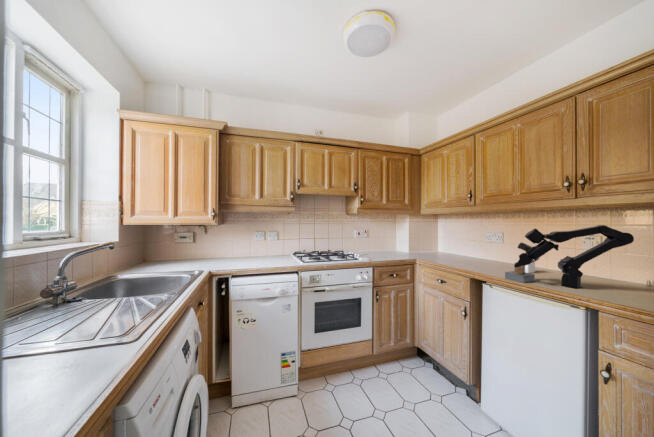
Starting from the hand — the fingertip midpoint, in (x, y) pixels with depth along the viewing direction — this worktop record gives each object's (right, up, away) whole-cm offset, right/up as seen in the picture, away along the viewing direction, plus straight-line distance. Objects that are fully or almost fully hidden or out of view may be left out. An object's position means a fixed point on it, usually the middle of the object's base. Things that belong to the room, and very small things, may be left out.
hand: (516, 265), depth 147 cm
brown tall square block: (+1, -8, -1) cm, 8 cm away
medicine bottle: (+23, -8, +22) cm, 33 cm away
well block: (+1, -8, -1) cm, 8 cm away
